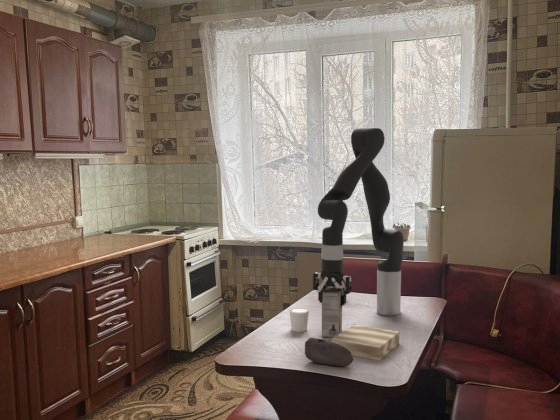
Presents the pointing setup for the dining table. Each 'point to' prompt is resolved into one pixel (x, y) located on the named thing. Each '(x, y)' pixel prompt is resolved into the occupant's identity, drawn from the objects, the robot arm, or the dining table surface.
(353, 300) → the dining table surface
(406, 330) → the dining table surface
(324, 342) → the perforated stone tool
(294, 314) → the white faceted cup
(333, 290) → the coffee box
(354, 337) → the birch plinth
